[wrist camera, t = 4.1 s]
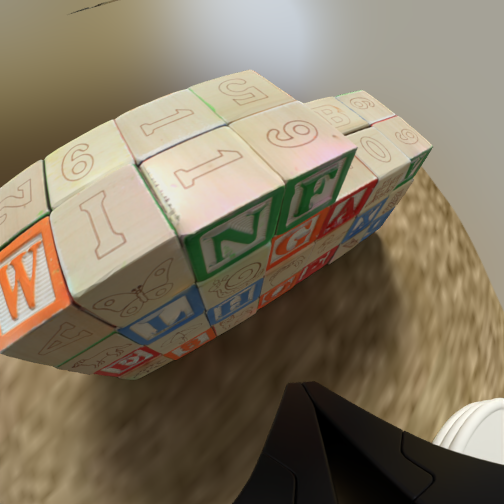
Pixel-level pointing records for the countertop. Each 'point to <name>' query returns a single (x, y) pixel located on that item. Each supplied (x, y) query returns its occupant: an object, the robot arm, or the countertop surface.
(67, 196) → the stack of blocks
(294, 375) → the countertop surface
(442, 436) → the white ridged disc
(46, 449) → the countertop surface
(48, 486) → the countertop surface
